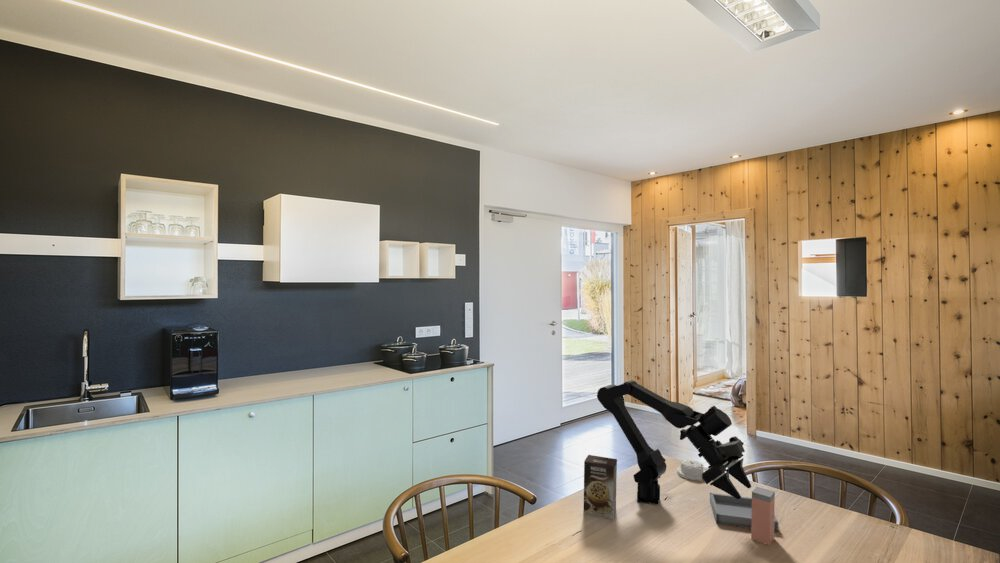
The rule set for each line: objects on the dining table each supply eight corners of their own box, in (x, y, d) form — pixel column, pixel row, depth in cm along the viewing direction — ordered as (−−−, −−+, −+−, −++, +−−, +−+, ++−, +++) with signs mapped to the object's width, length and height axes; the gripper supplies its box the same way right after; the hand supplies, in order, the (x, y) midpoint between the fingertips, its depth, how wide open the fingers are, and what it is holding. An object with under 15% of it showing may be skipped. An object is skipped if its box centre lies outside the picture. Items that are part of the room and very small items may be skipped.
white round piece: (710, 481, 168) (701, 470, 178) (711, 469, 168) (702, 458, 178) (681, 480, 169) (674, 469, 179) (681, 468, 169) (674, 457, 179)
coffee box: (582, 514, 145) (583, 461, 145) (587, 504, 151) (587, 453, 151) (613, 520, 141) (613, 465, 141) (616, 510, 147) (617, 458, 147)
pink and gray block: (751, 538, 132) (751, 491, 132) (756, 532, 135) (756, 486, 135) (769, 545, 129) (770, 497, 129) (774, 538, 132) (774, 491, 132)
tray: (716, 523, 140) (716, 513, 140) (709, 501, 153) (709, 492, 153) (778, 532, 135) (778, 522, 135) (765, 508, 149) (765, 499, 149)
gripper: (713, 437, 132) (757, 489, 124) (736, 422, 145) (777, 468, 138) (685, 458, 137) (725, 510, 130) (709, 441, 151) (747, 487, 143)
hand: (745, 492), depth 135 cm, fingers open, 9 cm apart
